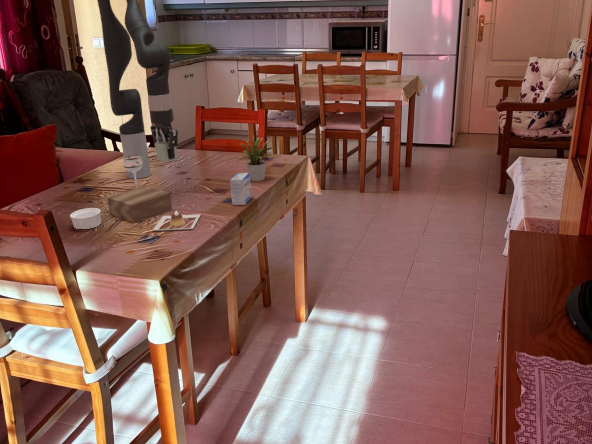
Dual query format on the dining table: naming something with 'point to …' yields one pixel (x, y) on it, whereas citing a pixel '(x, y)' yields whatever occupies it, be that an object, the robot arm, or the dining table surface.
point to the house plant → (256, 160)
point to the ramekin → (86, 218)
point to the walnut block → (139, 204)
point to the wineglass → (133, 165)
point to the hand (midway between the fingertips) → (167, 157)
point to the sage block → (164, 152)
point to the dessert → (176, 221)
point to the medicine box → (240, 189)
